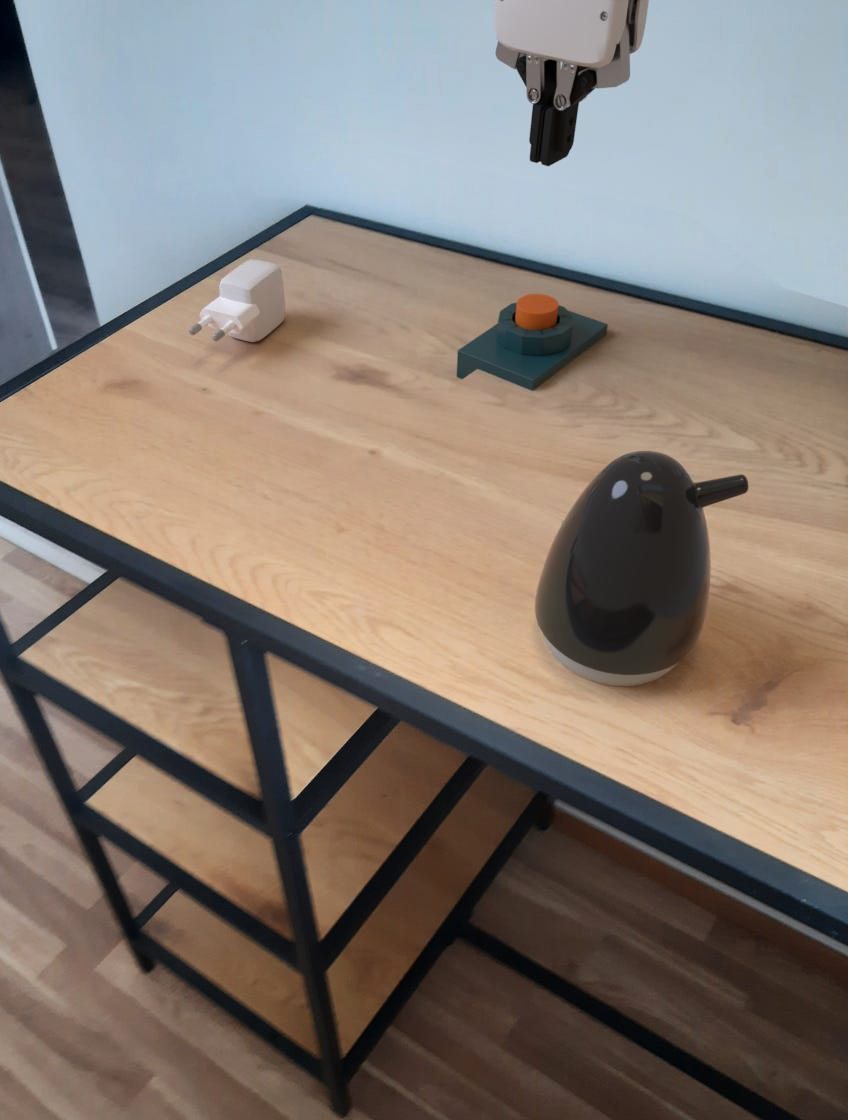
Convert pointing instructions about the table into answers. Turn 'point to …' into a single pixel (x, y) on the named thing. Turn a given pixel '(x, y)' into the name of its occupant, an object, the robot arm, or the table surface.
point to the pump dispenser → (631, 571)
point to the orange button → (536, 312)
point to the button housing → (529, 348)
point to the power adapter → (246, 303)
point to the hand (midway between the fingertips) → (549, 158)
